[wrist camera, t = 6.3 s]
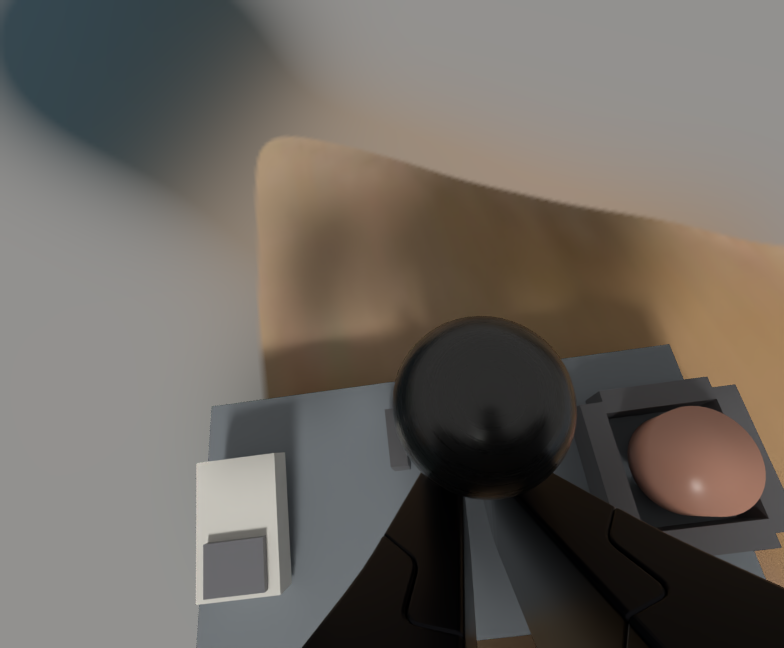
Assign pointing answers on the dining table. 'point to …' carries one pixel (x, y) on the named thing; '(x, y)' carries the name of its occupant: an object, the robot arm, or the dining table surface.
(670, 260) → the dining table surface
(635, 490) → the panel
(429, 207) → the dining table surface
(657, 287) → the dining table surface
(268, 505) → the rocker switch
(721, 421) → the push button
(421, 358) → the toggle lever
